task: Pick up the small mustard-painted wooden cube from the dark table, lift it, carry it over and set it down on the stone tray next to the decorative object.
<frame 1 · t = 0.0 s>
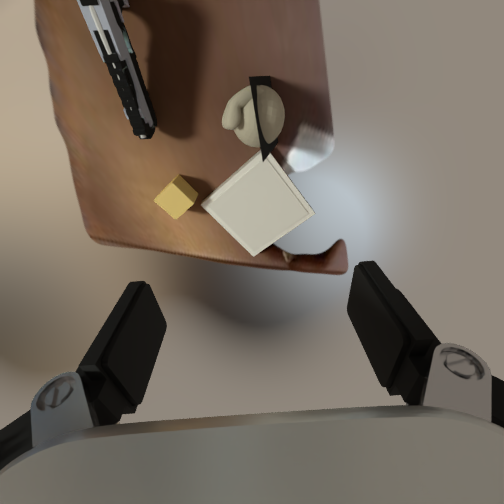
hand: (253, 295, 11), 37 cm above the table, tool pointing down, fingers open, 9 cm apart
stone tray: (258, 205, 48), on the table
decorative object: (251, 116, 40), on the table
toy gun: (138, 65, 36), on the table
mustard cube: (180, 192, 47), on the table
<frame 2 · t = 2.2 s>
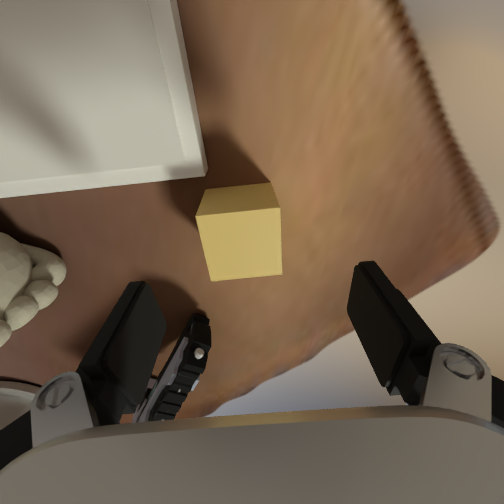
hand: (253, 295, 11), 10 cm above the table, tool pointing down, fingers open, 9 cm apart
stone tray: (35, 34, 13), on the table
decorative object: (23, 248, 20), on the table
toy gun: (175, 351, 29), on the table
mustard cube: (241, 215, 20), on the table
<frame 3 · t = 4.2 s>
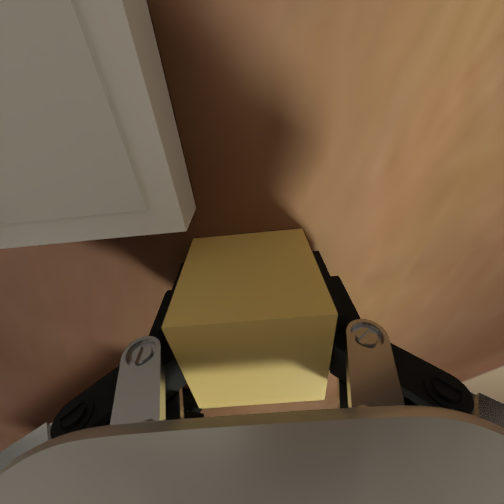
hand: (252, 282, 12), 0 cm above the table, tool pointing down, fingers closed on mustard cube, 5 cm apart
toy gun: (160, 423, 22), on the table
mustard cube: (252, 275, 12), on the table, touching gripper
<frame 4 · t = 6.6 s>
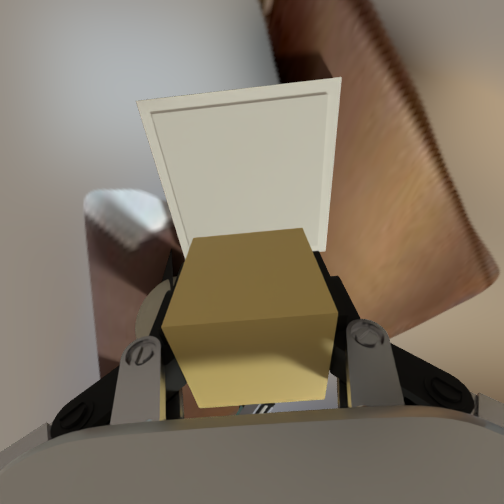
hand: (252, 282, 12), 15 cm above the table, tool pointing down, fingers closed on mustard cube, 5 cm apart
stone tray: (247, 183, 24), on the table
decorative object: (191, 283, 32), on the table
toy gun: (264, 349, 41), on the table
mustard cube: (252, 275, 12), point 15 cm above the table, touching gripper
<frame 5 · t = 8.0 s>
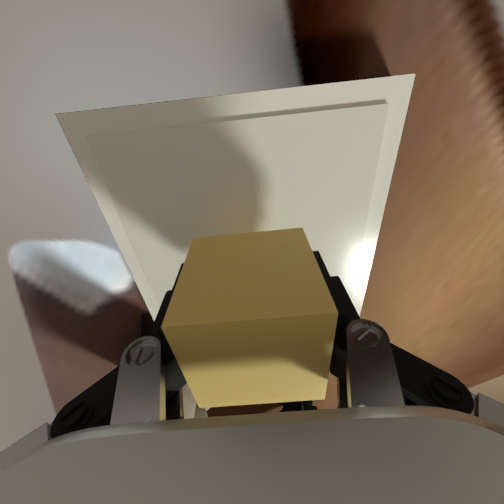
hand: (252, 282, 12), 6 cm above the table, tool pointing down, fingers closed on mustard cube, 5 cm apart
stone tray: (248, 231, 17), on the table
decorative object: (173, 350, 24), on the table
mustard cube: (252, 275, 12), point 5 cm above the table, touching gripper
when the fingers open (4 cm above the table, at t = 9.1 s): mustard cube drops 1 cm, resting on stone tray.
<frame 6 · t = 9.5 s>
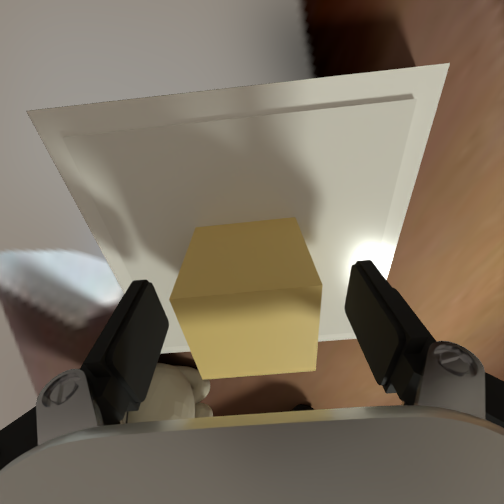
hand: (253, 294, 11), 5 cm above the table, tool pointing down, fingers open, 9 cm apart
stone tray: (251, 241, 15), on the table
decorative object: (170, 363, 23), on the table
mustard cube: (250, 262, 13), point 2 cm above the table, touching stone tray
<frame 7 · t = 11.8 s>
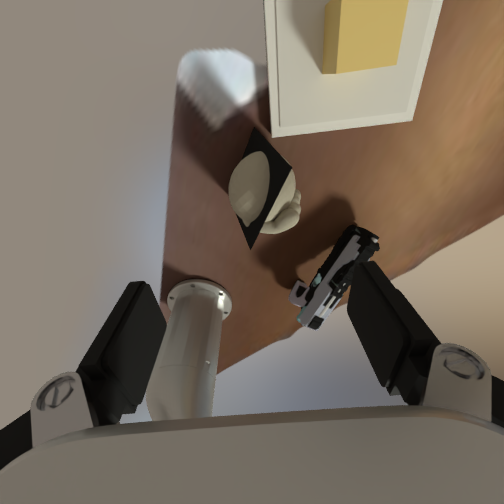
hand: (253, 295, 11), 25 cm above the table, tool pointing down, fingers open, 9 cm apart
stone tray: (343, 40, 24), on the table
decorative object: (265, 174, 33), on the table
toy gun: (322, 258, 42), on the table
mustard cube: (349, 37, 23), point 2 cm above the table, touching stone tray
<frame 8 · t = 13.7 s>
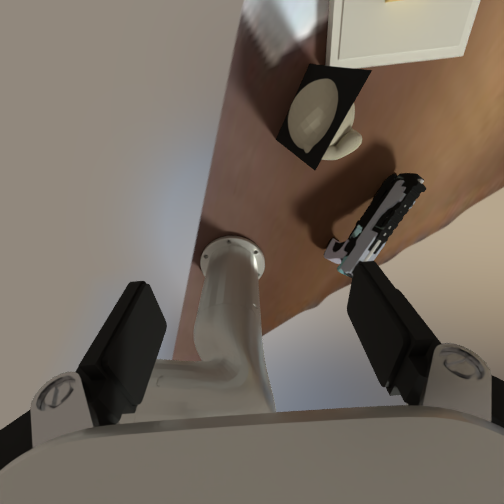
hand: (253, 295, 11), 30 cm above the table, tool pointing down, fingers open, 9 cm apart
decorative object: (314, 116, 34), on the table
toy gun: (358, 213, 43), on the table
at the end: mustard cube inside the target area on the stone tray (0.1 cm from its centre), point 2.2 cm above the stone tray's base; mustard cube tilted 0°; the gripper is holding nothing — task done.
